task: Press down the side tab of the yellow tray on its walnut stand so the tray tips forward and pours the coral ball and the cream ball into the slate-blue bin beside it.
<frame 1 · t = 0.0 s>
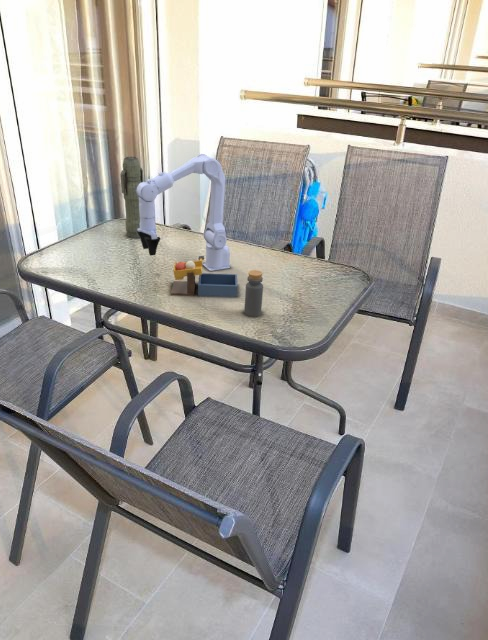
hand: (149, 251, 194), 10 cm above the table, tool pointing down, fingers open, 7 cm apart
stone statue: (135, 235, 241), on the table
bin: (217, 290, 191), on the table
yellow tray: (189, 266, 189), point 8 cm above the table, hinge at -8.3°, touching ball coral, ball cream
dish stand: (191, 289, 191), on the table
ball coral: (180, 266, 186), point 9 cm above the table, tilted 9°, touching ball cream, yellow tray
bottle: (252, 313, 176), on the table
ball cream: (190, 265, 186), point 9 cm above the table, tilted 22°, touching ball coral, yellow tray
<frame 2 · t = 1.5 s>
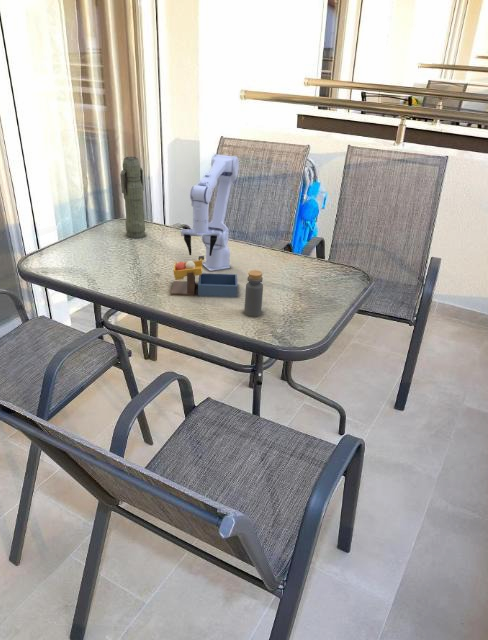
hand: (200, 254, 193), 10 cm above the table, tool pointing down, fingers open, 7 cm apart
nothing on the table moved.
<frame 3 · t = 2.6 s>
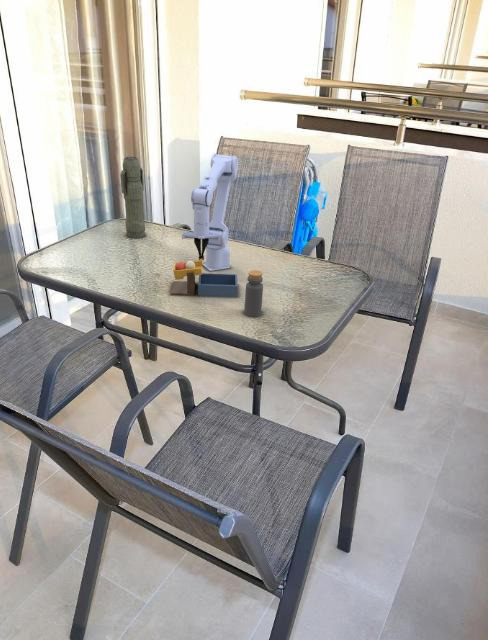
hand: (201, 257, 194), 9 cm above the table, tool pointing down, fingers closed, pressing on yellow tray
yellow tray: (189, 266, 189), point 8 cm above the table, hinge at -7.8°, touching ball coral, ball cream, gripper
everything else where it was.
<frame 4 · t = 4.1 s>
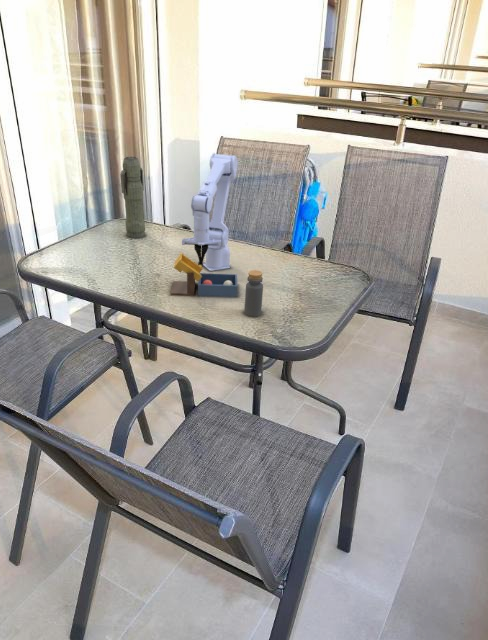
hand: (201, 263, 195), 7 cm above the table, tool pointing down, fingers closed, pressing on yellow tray
yellow tray: (189, 265, 189), point 8 cm above the table, hinge at 35.4°, touching gripper
ball coral: (207, 284, 190), point 2 cm above the table, tilted 67°, touching bin
ball cream: (228, 285, 190), point 2 cm above the table, tilted 96°, touching bin
everything else where it was.
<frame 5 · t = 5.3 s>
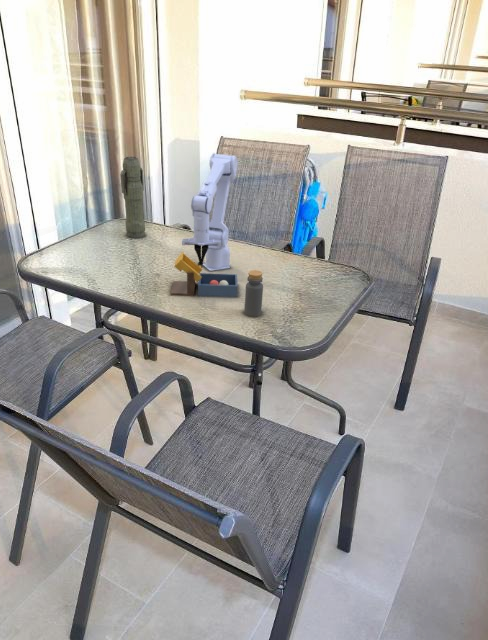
hand: (201, 263, 195), 7 cm above the table, tool pointing down, fingers closed
yellow tray: (190, 264, 189), point 8 cm above the table, hinge at 40.5°, touching gripper
ball coral: (214, 284, 190), point 2 cm above the table, tilted 146°, touching bin
ball cream: (223, 285, 190), point 2 cm above the table, tilted 44°, touching bin
everything else where it was.
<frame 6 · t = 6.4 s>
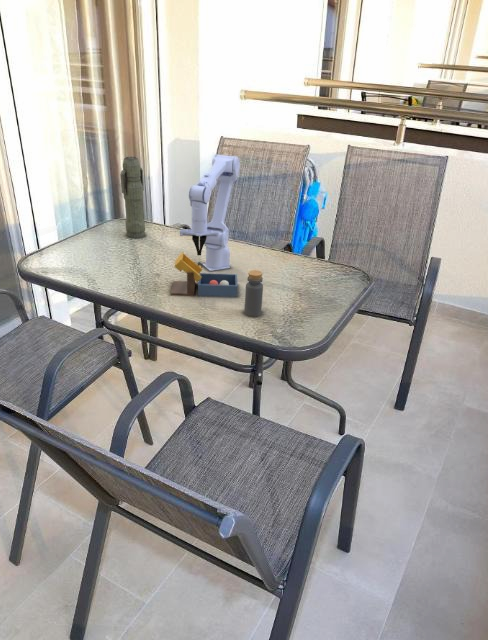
hand: (199, 254, 194), 10 cm above the table, tool pointing down, fingers closed
yellow tray: (190, 264, 189), point 8 cm above the table, hinge at 40.4°
ball coral: (213, 284, 190), point 2 cm above the table, tilted 139°, touching bin
ball cream: (224, 285, 190), point 2 cm above the table, tilted 51°, touching bin
everything else where it was.
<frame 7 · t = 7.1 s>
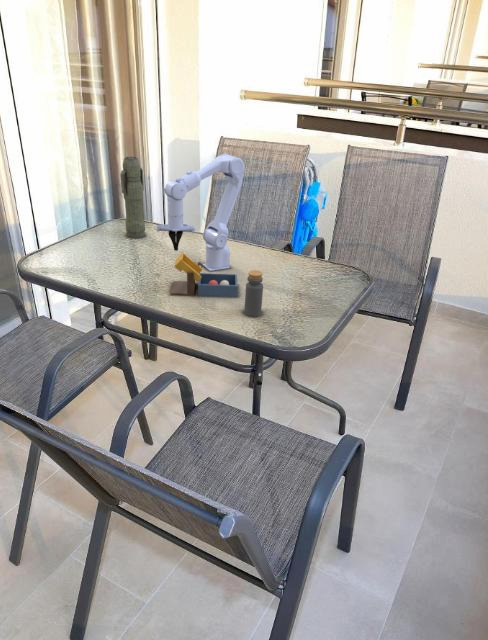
hand: (176, 249, 197), 10 cm above the table, tool pointing down, fingers closed
nothing on the table moved.
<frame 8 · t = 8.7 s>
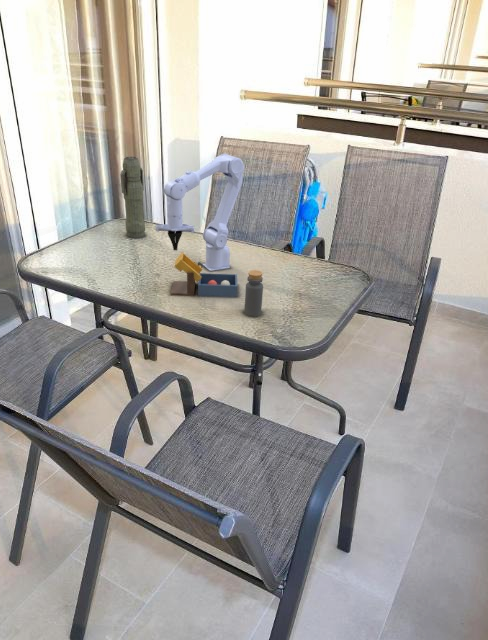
hand: (175, 249, 197), 10 cm above the table, tool pointing down, fingers closed
ball coral: (212, 284, 190), point 2 cm above the table, tilted 126°, touching bin
ball cream: (225, 285, 190), point 2 cm above the table, tilted 64°, touching bin
everything else where it was.
at the end: ball coral inside the target area in the bin (2.0 cm from its centre), point 2.2 cm above the bin's base; ball cream inside the target area in the bin (2.8 cm from its centre), point 2.2 cm above the bin's base; yellow tray reached +40° during the clip, +40° at the end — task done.
